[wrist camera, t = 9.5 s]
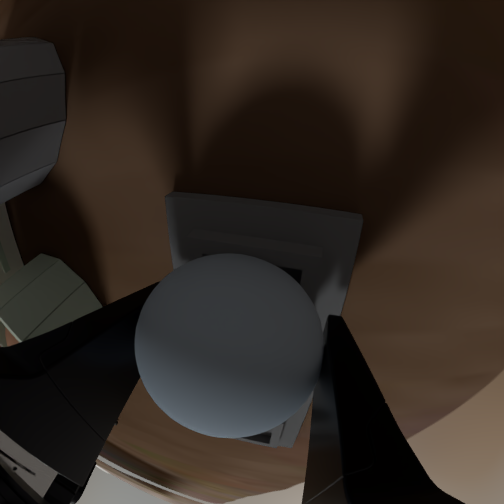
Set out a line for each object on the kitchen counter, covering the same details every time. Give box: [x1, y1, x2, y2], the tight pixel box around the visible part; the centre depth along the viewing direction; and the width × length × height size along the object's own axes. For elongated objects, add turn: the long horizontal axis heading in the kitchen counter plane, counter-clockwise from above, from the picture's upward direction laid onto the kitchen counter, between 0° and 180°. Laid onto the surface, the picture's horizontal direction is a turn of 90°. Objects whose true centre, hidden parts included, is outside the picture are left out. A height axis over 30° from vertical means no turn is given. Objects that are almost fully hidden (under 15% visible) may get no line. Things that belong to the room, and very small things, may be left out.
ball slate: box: [135, 253, 324, 438], centre depth 7 cm, size 5×5×5 cm
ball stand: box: [165, 192, 363, 448], centre depth 12 cm, size 16×6×1 cm, turn 179°
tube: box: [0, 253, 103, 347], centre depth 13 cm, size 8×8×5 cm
